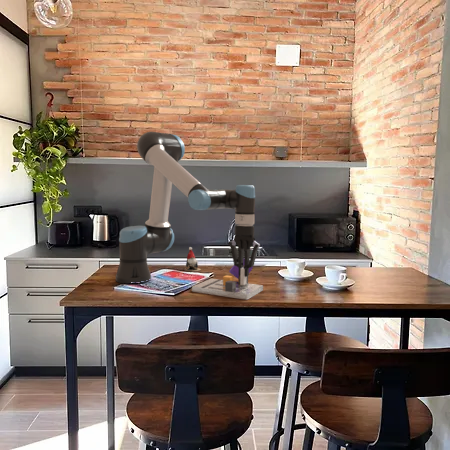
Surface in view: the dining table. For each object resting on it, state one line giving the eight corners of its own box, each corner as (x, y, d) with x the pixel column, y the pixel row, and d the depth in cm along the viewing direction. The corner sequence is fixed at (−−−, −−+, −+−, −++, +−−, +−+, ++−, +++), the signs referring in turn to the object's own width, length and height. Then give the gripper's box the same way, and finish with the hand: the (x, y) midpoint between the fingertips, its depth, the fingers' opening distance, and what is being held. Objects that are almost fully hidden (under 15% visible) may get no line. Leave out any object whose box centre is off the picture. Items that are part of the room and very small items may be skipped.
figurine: (198, 265, 203) (183, 247, 208) (188, 279, 207) (173, 261, 212) (209, 262, 210) (194, 245, 214) (198, 276, 214) (184, 259, 219)
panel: (192, 291, 170) (192, 277, 170) (211, 283, 184) (211, 270, 184) (247, 299, 160) (247, 285, 159) (263, 290, 174) (263, 276, 173)
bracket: (244, 279, 177) (254, 266, 178) (231, 269, 177) (241, 256, 179) (240, 281, 189) (250, 268, 190) (228, 271, 189) (237, 259, 191)
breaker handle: (223, 285, 171) (223, 276, 171) (226, 283, 174) (226, 275, 173) (229, 286, 170) (229, 277, 169) (233, 284, 172) (233, 276, 172)
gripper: (225, 224, 166) (224, 284, 168) (256, 226, 160) (255, 288, 162) (233, 223, 172) (232, 280, 175) (263, 225, 167) (262, 284, 169)
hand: (243, 284), depth 169 cm, fingers closed
